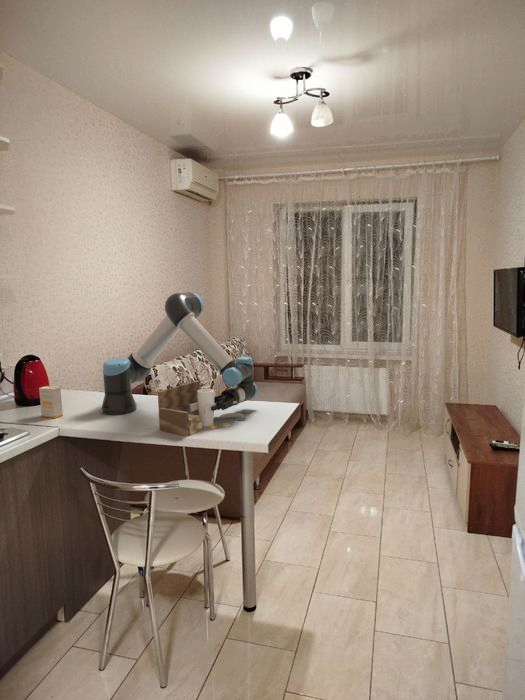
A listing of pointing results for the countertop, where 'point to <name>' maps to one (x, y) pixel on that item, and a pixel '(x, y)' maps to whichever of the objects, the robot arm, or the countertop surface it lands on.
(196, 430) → the offcut lower
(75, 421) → the countertop surface
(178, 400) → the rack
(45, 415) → the supplement box
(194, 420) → the offcut upper
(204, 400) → the drinking glass
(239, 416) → the coaster
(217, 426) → the offcut flat
